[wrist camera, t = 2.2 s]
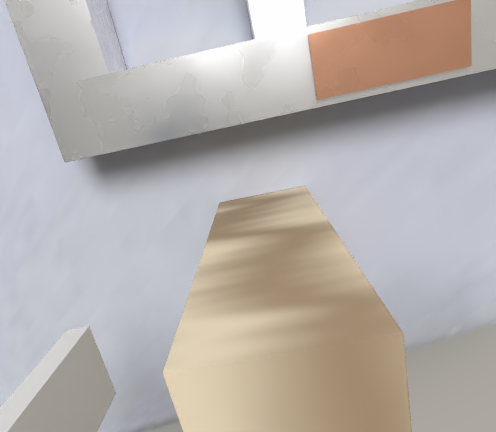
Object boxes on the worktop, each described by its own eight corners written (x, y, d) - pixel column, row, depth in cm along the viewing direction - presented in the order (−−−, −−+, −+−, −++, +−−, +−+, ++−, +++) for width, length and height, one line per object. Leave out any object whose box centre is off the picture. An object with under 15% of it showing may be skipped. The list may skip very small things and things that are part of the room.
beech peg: (238, 278, 19) (218, 529, 8) (219, 202, 18) (162, 372, 6) (318, 263, 19) (418, 504, 8) (305, 185, 18) (403, 333, 6)
